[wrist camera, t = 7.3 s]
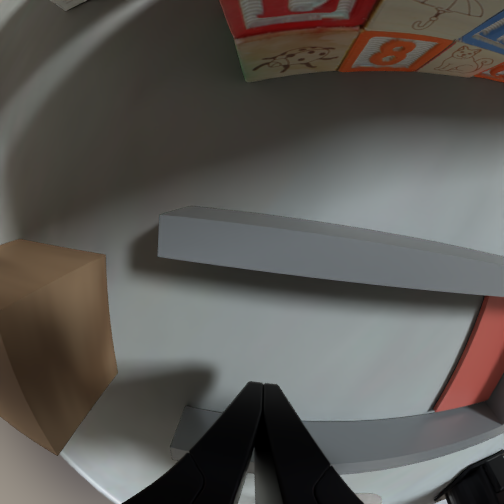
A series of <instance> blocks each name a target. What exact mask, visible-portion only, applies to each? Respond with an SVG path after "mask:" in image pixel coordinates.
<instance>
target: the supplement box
mask: <svg viewBox="0 0 504 504" xmlns="http://www.w3.org/2000/svg"><path fill="white" fill-rule="evenodd" d="M50 1H51V2H53V3H54V4H56V5H57V6H59V7H60V8H62V9H63V10H64V11H66V10H69V9H71V8H73V7H75V6H77V5H79V4H81V3H83V2H85V1H87V0H50Z"/></svg>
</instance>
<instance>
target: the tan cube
mask: <svg viewBox="0 0 504 504" xmlns="http://www.w3.org/2000/svg"><path fill="white" fill-rule="evenodd" d="M117 373H118V370H117V364H116V359H115V352H114V346H113V339H112V332H111V324H110V315H109V304H108V293H107V277H106V255H104V254H98V253H92V252H87V251H81V250H76V249H70V248H64V247H59V246H54V245H48V244H43V243H38V242H33V241H28V240H23V239H18V240H14V241H11V242H8V243H5V244H2V245H0V417H2V418H3V419H4V420H5V421H7V422H8V423H9V424H10V425H12V426H13V427H14V428H16V429H17V430H18V431H20V432H21V433H23V434H24V435H26V436H27V437H28V438H30V439H31V440H33V441H34V442H36V443H38V444H39V445H40V446H42V447H44V448H45V449H47V450H48V451H50V452H52V453H53V454H55V455H57V456H58V455H59V454H60V452H61V451H62V449H63V448H64V446H65V445H66V443H67V442H68V441H69V439H70V438H71V436H72V435H73V434H74V432H75V431H76V429H77V428H78V426H79V425H80V424H81V422H82V421H83V419H84V418H85V417H86V415H87V414H88V413H89V411H90V410H91V408H92V407H93V406H94V404H95V403H96V402H97V400H98V399H99V397H100V396H101V395H102V393H103V392H104V391H105V389H106V388H107V387H108V385H109V384H110V383H111V381H112V380H113V379H114V377H115V376H116V375H117Z"/></svg>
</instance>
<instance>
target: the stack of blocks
mask: <svg viewBox="0 0 504 504" xmlns="http://www.w3.org/2000/svg"><path fill="white" fill-rule="evenodd" d="M219 1H220V4H221V7H222V10H223V12H224V15H225V18H226V21H227V24H228V26H229V29H230V32H231V34H232V35H233V37H234V42H235V47H236V51H237V54H238V57H239V61H240V65H241V68H242V72H243V75H244V78H245V80H246V82H255V81H260V80H265V79H271V78H277V77H283V76H290V75H297V74H305V73H314V72H324V71H339V72H356V71H406V72H413V71H416V72H423V73H431V74H442V75H451V76H460V77H467V78H469V77H472V76H475V77H479V78H487V79H490V80H494V81H499V82H503V83H504V0H219Z"/></svg>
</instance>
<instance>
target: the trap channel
mask: <svg viewBox="0 0 504 504" xmlns="http://www.w3.org/2000/svg"><path fill="white" fill-rule="evenodd" d="M158 257H163V258H170V259H177V260H184V261H191V262H198V263H205V264H212V265H219V266H227V267H234V268H241V269H249V270H257V271H264V272H272V273H280V274H288V275H296V276H304V277H312V278H321V279H329V280H338V281H346V282H355V283H364V284H373V285H382V286H392V287H401V288H411V289H421V290H431V291H441V292H452V293H463V294H474V295H485V297H484V300H483V303H482V306H481V309H480V312H479V315H478V318H477V320H476V323H475V326H474V328H473V331H472V333H471V336H470V338H469V340H468V343H467V345H466V347H465V349H464V352H463V354H462V356H461V358H460V360H459V362H458V364H457V366H456V369H455V371H454V372H453V374H452V376H451V378H450V380H449V382H448V384H447V386H446V388H445V389H444V391H443V393H442V395H441V396H440V398H439V400H438V401H437V403H436V405H435V406H434V408H433V409H434V411H435V413H430V414H423V415H417V416H410V417H402V418H393V419H382V420H369V421H346V422H312V421H302V422H303V424H304V425H305V427H306V428H307V430H308V431H309V433H310V434H311V436H312V437H313V439H314V440H315V442H316V443H317V444H318V446H319V447H320V449H321V450H322V452H323V453H324V454H325V456H326V457H327V459H328V460H329V462H330V463H331V465H332V466H333V467H334V468H335V470H336V471H337V473H338V474H339V475H342V474H353V473H363V472H371V471H378V470H384V469H390V468H396V467H401V466H406V465H410V464H415V463H419V462H423V461H427V460H431V459H434V458H438V457H441V456H445V455H448V454H451V453H454V452H457V451H460V450H463V449H466V448H469V447H471V446H474V445H477V444H479V443H482V442H484V441H486V440H489V439H491V438H493V437H496V436H498V435H500V434H502V433H503V432H504V257H503V256H499V255H494V254H490V253H486V252H481V251H477V250H472V249H468V248H463V247H458V246H454V245H449V244H444V243H439V242H434V241H429V240H424V239H418V238H413V237H408V236H402V235H397V234H391V233H386V232H380V231H374V230H368V229H362V228H356V227H350V226H344V225H337V224H331V223H324V222H317V221H311V220H304V219H296V218H289V217H282V216H274V215H266V214H258V213H250V212H242V211H233V210H225V209H215V208H206V207H196V206H188V207H184V208H181V209H177V210H174V211H170V212H167V213H163V214H160V215H159V234H158ZM479 402H480V403H479ZM475 403H476V404H475ZM471 404H472V405H471ZM467 405H468V406H467ZM463 406H464V407H463ZM459 407H460V408H459ZM454 408H455V409H454ZM450 409H451V410H450ZM445 410H446V411H445ZM440 411H441V412H440ZM221 414H222V413H219V412H213V411H208V410H203V409H197V408H193V407H188V406H185V408H184V411H183V414H182V416H181V419H180V422H179V424H178V427H177V429H176V432H175V435H174V437H173V440H172V443H171V445H170V451H171V456H172V459H173V460H177V461H179V460H180V459H181V458H182V457H183V456H184V455H185V454H186V453H187V452H188V451H189V450H190V449H191V448H192V447H193V445H194V444H195V443H196V442H197V441H198V440H199V439H200V438H201V437H202V436H203V435H204V433H205V432H206V431H207V430H208V429H209V428H210V427H211V426H212V425H213V423H214V422H215V421H216V420H217V419H218V418H219V417H220V415H221ZM188 453H189V452H188ZM331 465H330V466H331ZM247 473H253V474H255V473H254V450H253V454H252V458H251V461H250V465H249V468H248V472H247Z"/></svg>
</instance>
